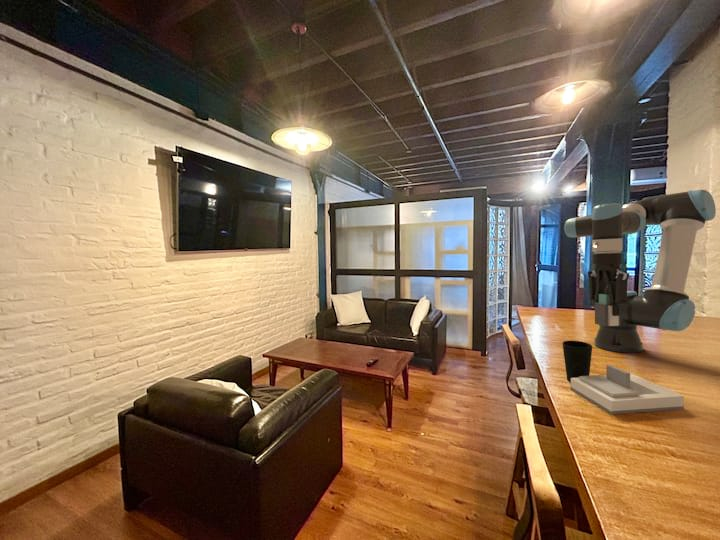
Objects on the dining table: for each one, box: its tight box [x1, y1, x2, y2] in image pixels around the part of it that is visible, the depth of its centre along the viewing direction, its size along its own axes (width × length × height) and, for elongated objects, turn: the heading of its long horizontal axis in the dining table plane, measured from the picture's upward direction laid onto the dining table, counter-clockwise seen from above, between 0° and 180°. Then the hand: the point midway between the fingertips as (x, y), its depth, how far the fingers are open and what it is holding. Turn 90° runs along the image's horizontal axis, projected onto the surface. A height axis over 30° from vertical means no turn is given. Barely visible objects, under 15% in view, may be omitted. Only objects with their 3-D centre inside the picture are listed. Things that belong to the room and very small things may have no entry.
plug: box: [594, 287, 620, 326], centre depth 96 cm, size 5×4×12 cm
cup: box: [561, 340, 593, 383], centre depth 94 cm, size 8×8×12 cm
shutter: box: [579, 364, 640, 397], centre depth 82 cm, size 7×11×5 cm, turn 2°
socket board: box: [570, 373, 685, 415], centre depth 82 cm, size 19×14×4 cm
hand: (607, 323), depth 97 cm, fingers closed on plug, 4 cm apart
